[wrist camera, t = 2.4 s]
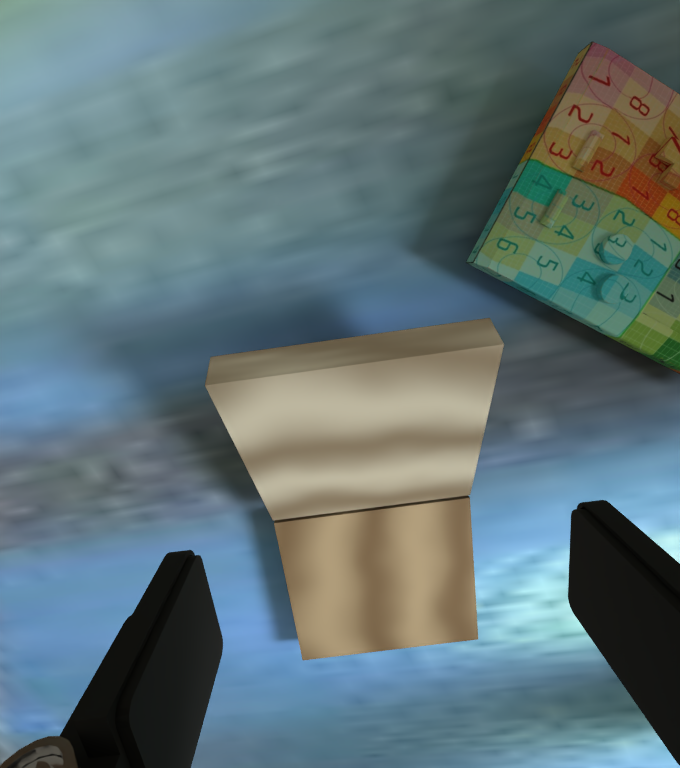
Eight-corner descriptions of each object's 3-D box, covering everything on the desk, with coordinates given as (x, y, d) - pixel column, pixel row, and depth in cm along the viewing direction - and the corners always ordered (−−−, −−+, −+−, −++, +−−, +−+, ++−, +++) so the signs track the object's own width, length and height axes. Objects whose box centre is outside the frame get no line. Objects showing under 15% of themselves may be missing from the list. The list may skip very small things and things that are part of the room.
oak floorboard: (461, 483, 31) (469, 498, 29) (470, 618, 35) (478, 639, 33) (277, 507, 32) (274, 523, 30) (304, 638, 35) (302, 660, 33)
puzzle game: (603, 31, 20) (907, 224, 22) (553, 74, 24) (811, 231, 27) (478, 262, 23) (760, 410, 25) (454, 262, 27) (695, 387, 30)
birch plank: (461, 470, 31) (469, 495, 29) (273, 495, 31) (273, 520, 30) (489, 317, 21) (503, 344, 19) (210, 356, 21) (205, 385, 20)
